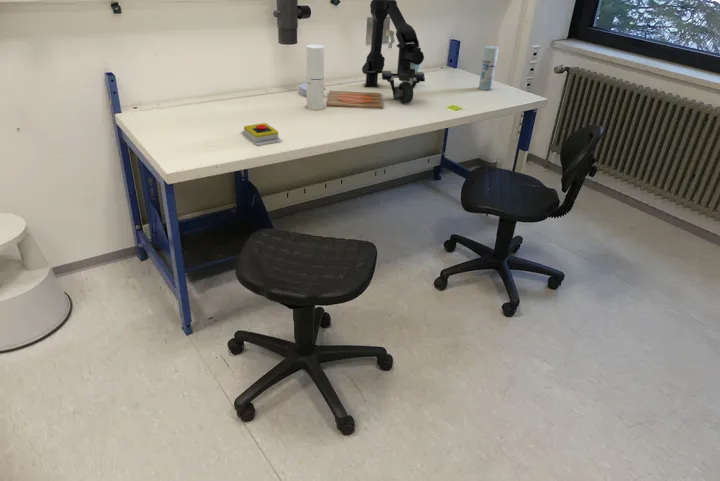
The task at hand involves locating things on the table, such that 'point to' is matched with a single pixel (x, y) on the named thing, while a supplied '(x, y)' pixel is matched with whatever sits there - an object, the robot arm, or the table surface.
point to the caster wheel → (403, 92)
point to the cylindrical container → (315, 76)
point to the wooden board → (354, 99)
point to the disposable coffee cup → (417, 69)
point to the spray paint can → (488, 67)
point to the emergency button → (261, 134)
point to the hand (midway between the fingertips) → (401, 95)
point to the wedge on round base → (304, 89)
